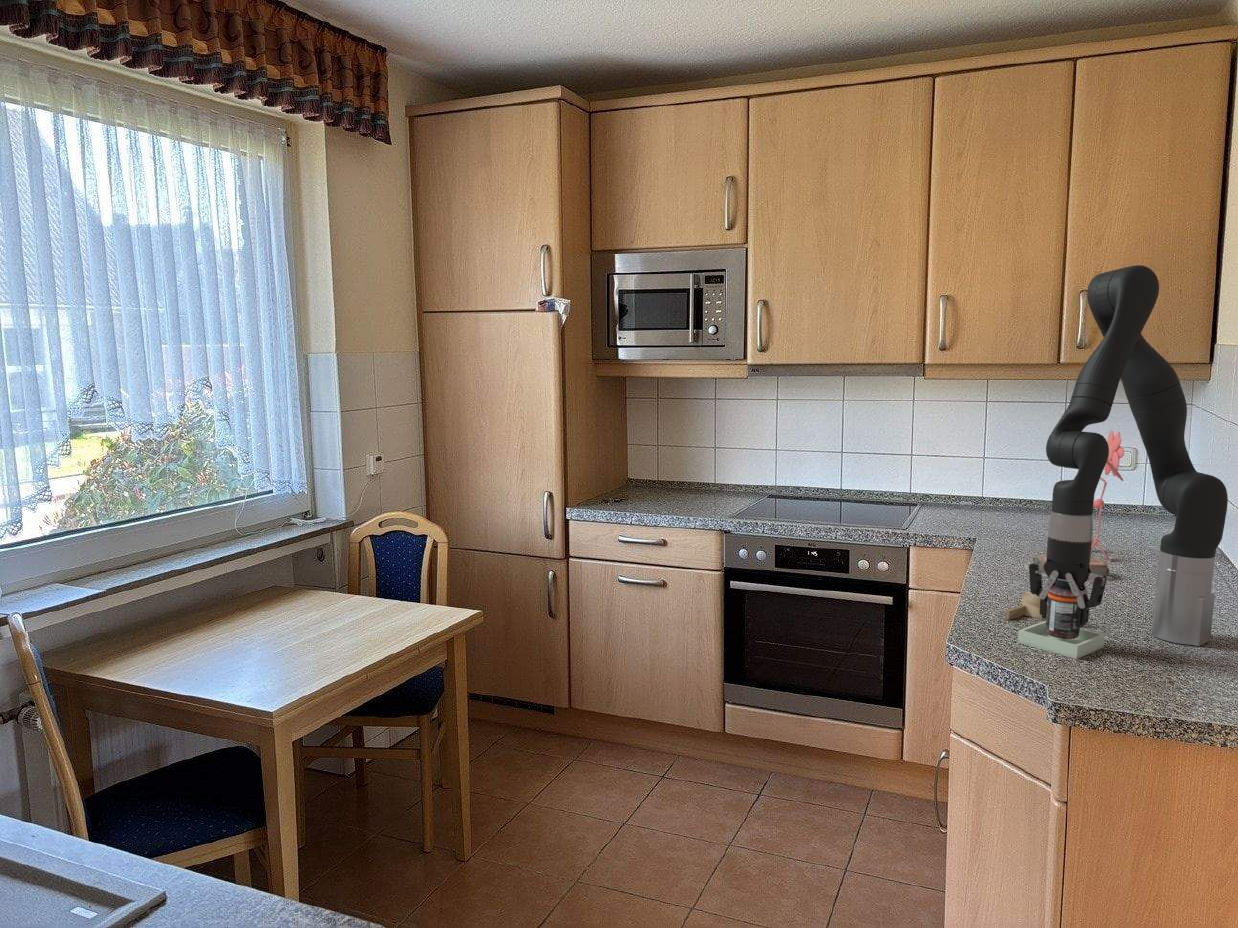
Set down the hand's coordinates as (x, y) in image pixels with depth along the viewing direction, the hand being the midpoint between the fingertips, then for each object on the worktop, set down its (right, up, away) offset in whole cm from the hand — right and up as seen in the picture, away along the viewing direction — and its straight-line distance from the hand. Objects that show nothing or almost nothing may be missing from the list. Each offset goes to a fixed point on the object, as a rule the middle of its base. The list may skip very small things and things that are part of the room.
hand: (1062, 621), depth 174 cm
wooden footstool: (+1, -3, +14) cm, 15 cm away
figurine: (+49, +4, +77) cm, 92 cm away
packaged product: (+29, +2, +56) cm, 63 cm away
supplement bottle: (0, -3, 0) cm, 3 cm away
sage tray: (0, -5, +1) cm, 5 cm away
